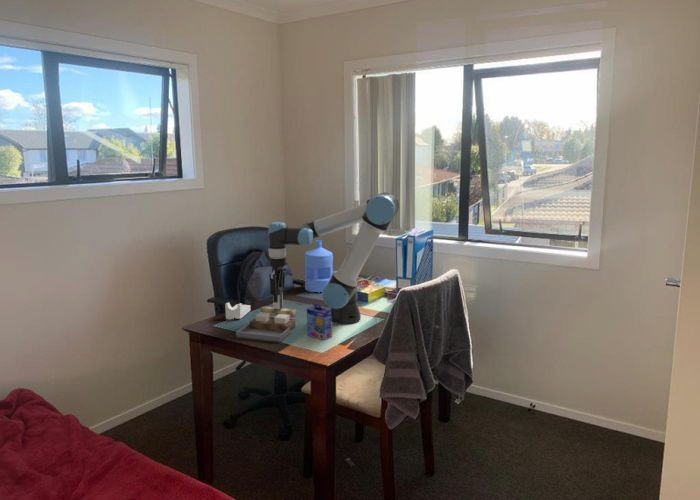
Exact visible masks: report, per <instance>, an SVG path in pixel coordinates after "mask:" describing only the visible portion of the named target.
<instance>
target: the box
mask: <svg viewBox="0 0 700 500" xmlns="http://www.w3.org/2000/svg"><path fill="white" fill-rule="evenodd" d="M290 335H291V331H290V328H287V329H286V330H285V331H284V332H281V331H272V330H263V329H254V328H250V323H247V324H245V325H244V326H243V327H241V328H240V329H238V330H236V331H235V338H237V339H244V340H253V341H262V342H269V343H270V342H271V343H277V342H278V344H279V343H281V342H283V341H284V340H285V339H286V338H287V337H289V336H290Z"/></svg>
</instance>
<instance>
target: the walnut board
mask: <svg viewBox="0 0 700 500" xmlns="http://www.w3.org/2000/svg"><path fill="white" fill-rule="evenodd" d="M274 317H275V316H271V319H269V320H268V321H267V322H262V321H256V317H254V318H253V319H252V320H250V321H249V324H250V328H254V329H263V330H272V331H281V332H284V331H285V330H286V329H287V328H290V332H291V331H293V330H294V328H296V319H294V318H289V321H288V322H287V323H286V324H281V323H275V320H274Z"/></svg>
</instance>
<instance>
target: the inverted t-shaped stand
mask: <svg viewBox="0 0 700 500" xmlns="http://www.w3.org/2000/svg"><path fill="white" fill-rule="evenodd" d="M282 293H283V292H282V287H279V293H278V295H279V302H280V309H273V306H272V307H271V306H265V305H264V306H262V307H261V308H260V312H265V313H271V317H276V316H277V315H278V314H284V315H289V319H294V318H295V317H297V309H293V308H286V307H285V308H283V307H284V306H283V307H282Z"/></svg>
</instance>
